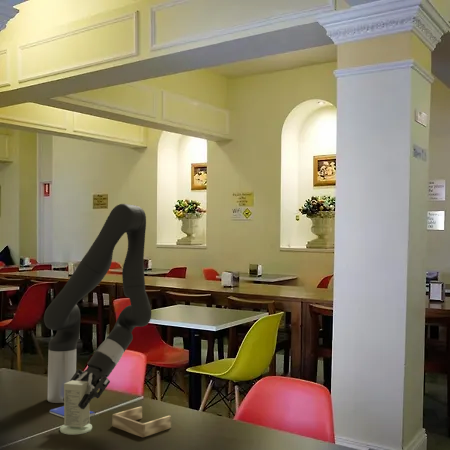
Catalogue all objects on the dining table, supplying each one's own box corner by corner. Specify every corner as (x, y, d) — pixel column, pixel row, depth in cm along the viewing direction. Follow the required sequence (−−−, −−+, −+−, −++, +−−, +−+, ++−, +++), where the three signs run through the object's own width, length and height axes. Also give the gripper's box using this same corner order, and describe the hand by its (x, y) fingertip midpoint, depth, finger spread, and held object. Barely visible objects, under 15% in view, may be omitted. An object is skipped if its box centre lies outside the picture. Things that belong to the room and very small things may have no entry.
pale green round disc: (62, 424, 166) (62, 422, 166) (93, 423, 167) (93, 421, 167) (58, 435, 157) (58, 433, 157) (90, 434, 158) (91, 431, 158)
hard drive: (49, 409, 177) (73, 418, 169) (71, 403, 183) (95, 411, 175) (49, 414, 177) (73, 423, 169) (71, 408, 183) (95, 416, 175)
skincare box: (90, 423, 163) (91, 381, 163) (82, 428, 159) (82, 385, 159) (71, 421, 165) (72, 379, 165) (62, 425, 161) (63, 383, 161)
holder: (140, 417, 173) (140, 406, 173) (170, 427, 164) (171, 415, 164) (112, 426, 165) (112, 414, 165) (142, 437, 156) (142, 424, 156)
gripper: (85, 347, 173) (50, 392, 164) (114, 353, 163) (79, 402, 154) (98, 361, 177) (66, 407, 168) (128, 368, 167) (95, 417, 158)
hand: (72, 404), depth 161 cm, fingers closed on skincare box, 7 cm apart
